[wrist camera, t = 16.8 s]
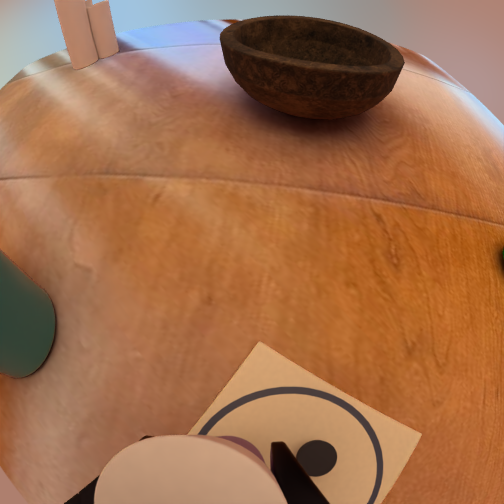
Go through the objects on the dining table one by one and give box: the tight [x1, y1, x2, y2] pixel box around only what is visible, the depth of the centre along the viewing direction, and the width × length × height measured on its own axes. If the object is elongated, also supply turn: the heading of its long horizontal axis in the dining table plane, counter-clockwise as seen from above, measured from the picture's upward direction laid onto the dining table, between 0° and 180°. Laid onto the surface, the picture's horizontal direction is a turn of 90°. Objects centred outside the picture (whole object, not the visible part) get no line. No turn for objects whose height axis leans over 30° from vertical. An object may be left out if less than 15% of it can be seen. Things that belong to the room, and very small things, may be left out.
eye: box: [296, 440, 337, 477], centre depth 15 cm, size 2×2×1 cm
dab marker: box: [94, 435, 287, 504], centre depth 8 cm, size 4×4×11 cm
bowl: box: [220, 16, 405, 119], centre depth 32 cm, size 22×22×10 cm
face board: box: [187, 341, 422, 504], centre depth 15 cm, size 14×14×1 cm
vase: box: [54, 0, 119, 70], centre depth 43 cm, size 11×7×20 cm, turn 129°
